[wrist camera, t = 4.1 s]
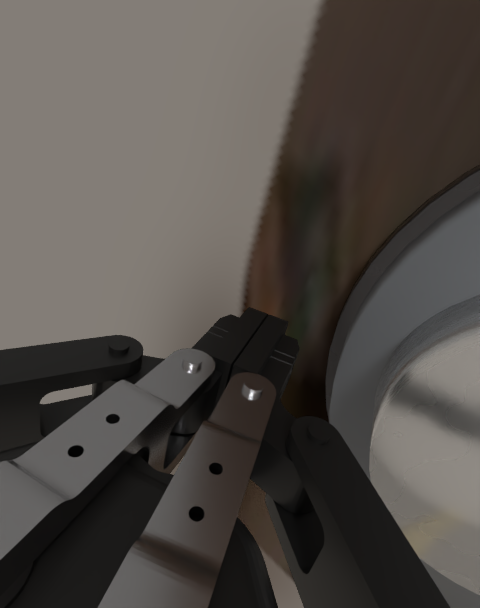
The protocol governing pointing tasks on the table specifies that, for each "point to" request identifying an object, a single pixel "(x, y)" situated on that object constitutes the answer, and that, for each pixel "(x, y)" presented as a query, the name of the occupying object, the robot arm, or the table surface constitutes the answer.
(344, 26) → the table surface
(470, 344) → the cover
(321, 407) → the table surface
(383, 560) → the robot arm
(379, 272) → the turntable base
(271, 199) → the table surface
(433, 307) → the turntable
